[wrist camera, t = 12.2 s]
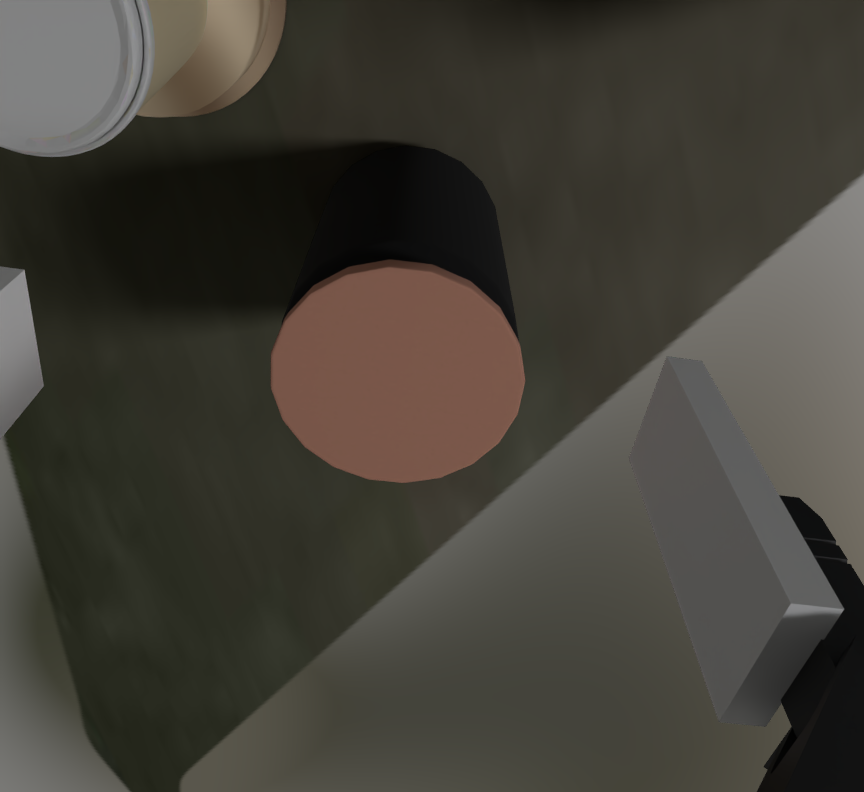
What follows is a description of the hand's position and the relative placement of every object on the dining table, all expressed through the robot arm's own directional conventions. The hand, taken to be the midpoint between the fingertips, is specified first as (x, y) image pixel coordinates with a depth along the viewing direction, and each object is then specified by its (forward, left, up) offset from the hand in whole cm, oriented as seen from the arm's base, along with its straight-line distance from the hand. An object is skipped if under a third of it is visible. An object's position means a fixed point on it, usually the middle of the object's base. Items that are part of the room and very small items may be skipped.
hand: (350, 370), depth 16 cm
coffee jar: (+3, +8, -31) cm, 32 cm away
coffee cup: (+10, -9, -27) cm, 30 cm away
